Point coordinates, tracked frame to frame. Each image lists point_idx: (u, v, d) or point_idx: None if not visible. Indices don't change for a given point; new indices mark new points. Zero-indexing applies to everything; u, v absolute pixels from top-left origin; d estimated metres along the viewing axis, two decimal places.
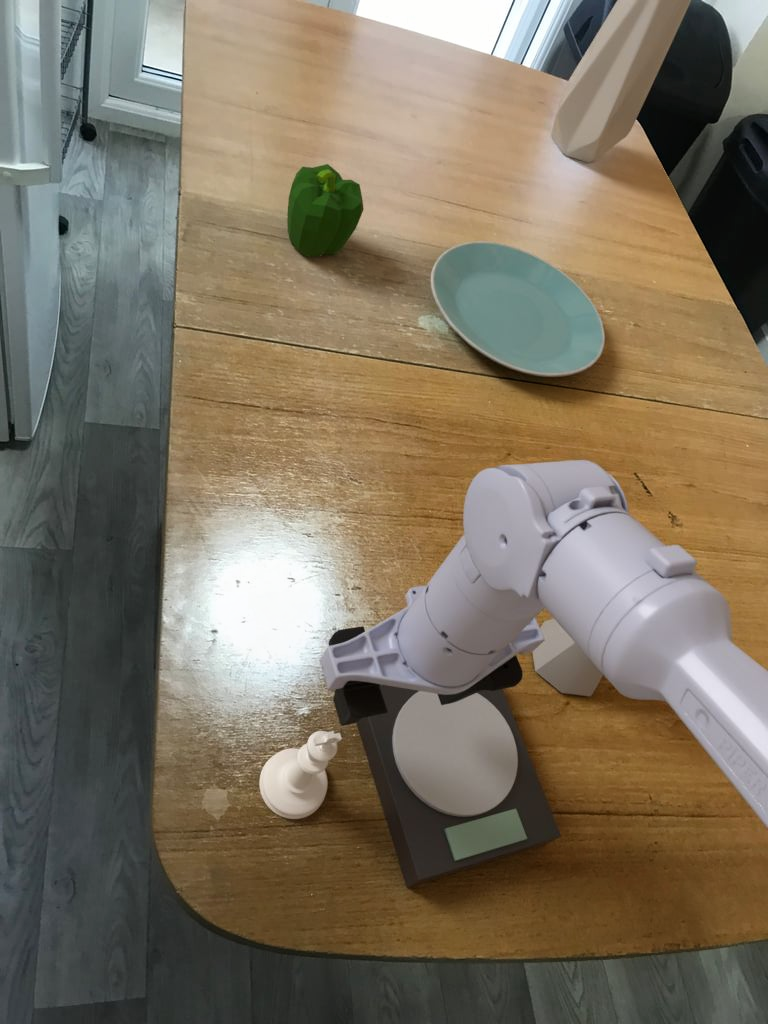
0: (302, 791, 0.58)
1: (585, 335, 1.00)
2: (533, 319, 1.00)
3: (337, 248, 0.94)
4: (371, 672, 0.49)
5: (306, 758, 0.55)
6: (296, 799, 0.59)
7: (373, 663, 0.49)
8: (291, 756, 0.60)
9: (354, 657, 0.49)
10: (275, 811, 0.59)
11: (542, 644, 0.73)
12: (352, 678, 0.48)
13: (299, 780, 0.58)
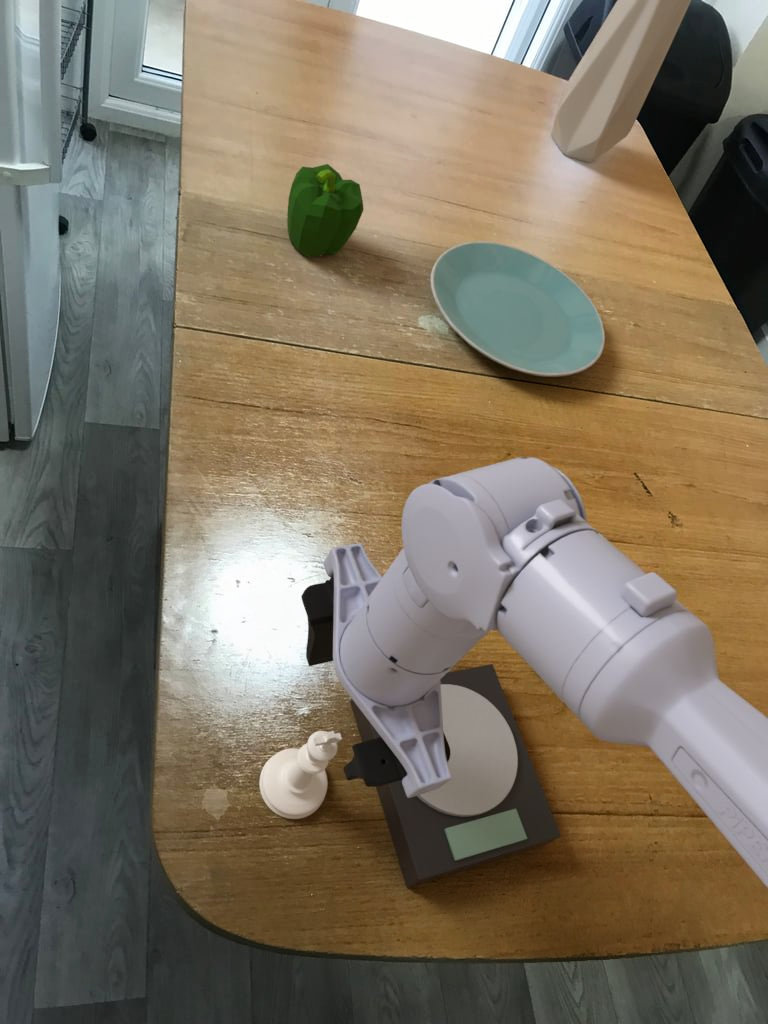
0: (302, 791, 0.58)
1: (585, 335, 1.00)
2: (533, 319, 1.00)
3: (337, 248, 0.94)
4: (343, 585, 0.49)
5: (306, 758, 0.55)
6: (296, 799, 0.59)
7: (353, 585, 0.49)
8: (291, 756, 0.60)
9: (354, 565, 0.49)
10: (275, 811, 0.59)
11: None
12: (334, 565, 0.49)
13: (299, 780, 0.58)
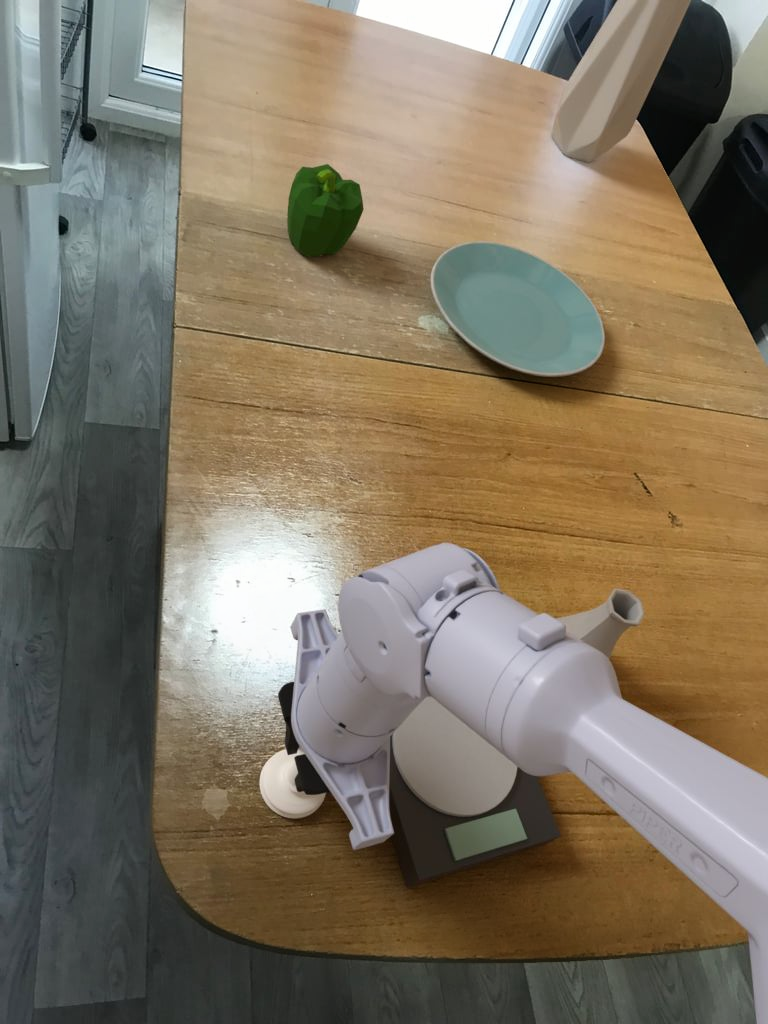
0: None
1: (585, 335, 1.00)
2: (533, 319, 1.00)
3: (337, 248, 0.94)
4: (306, 648, 0.53)
5: None
6: (296, 798, 0.59)
7: (314, 648, 0.53)
8: (291, 756, 0.60)
9: (317, 630, 0.54)
10: (275, 810, 0.59)
11: None
12: (298, 630, 0.53)
13: None
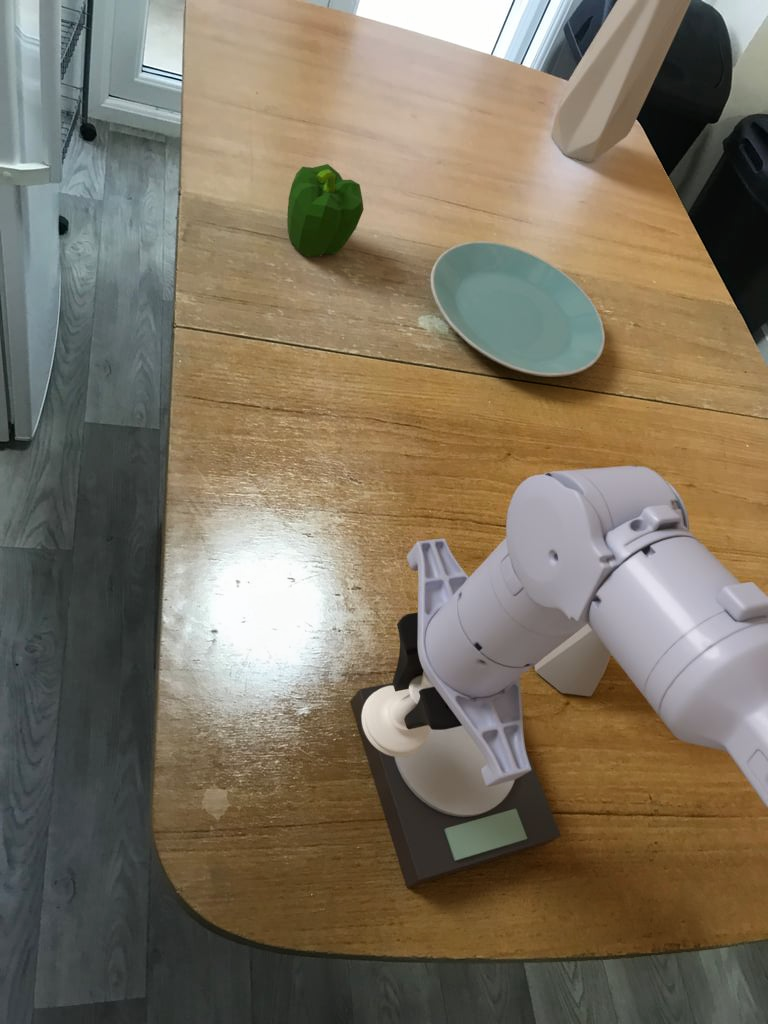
0: None
1: (585, 335, 1.00)
2: (533, 319, 1.00)
3: (337, 248, 0.94)
4: None
5: None
6: (401, 736, 0.56)
7: (437, 578, 0.50)
8: (393, 693, 0.58)
9: (438, 559, 0.51)
10: (379, 749, 0.56)
11: None
12: (419, 559, 0.51)
13: None
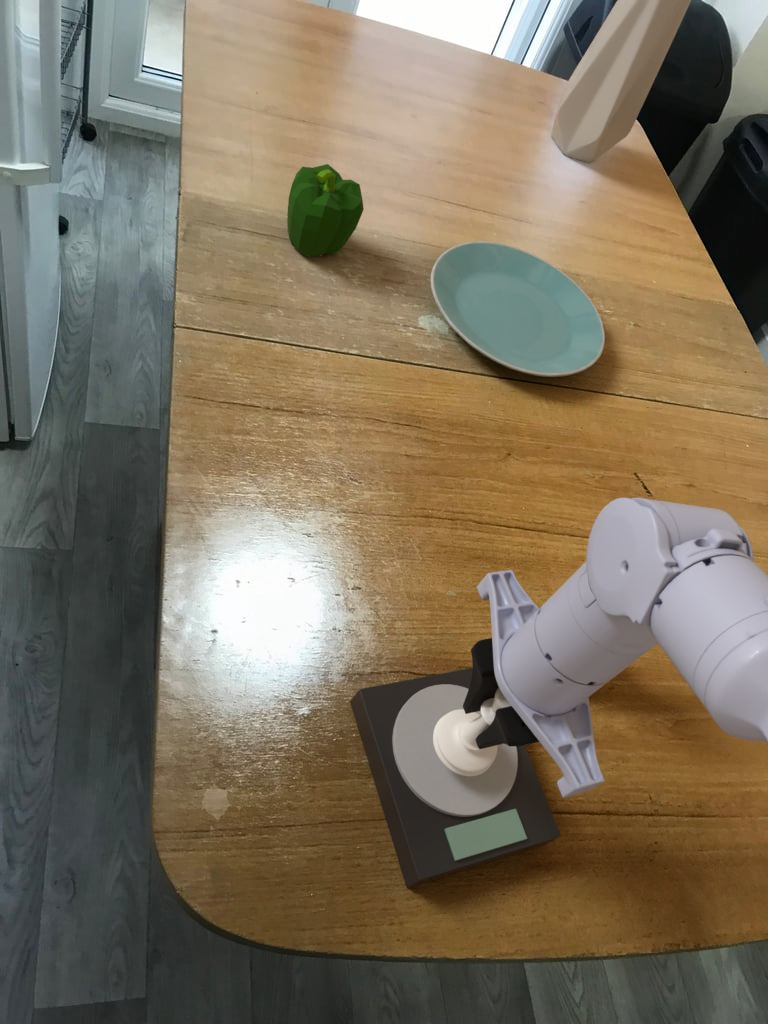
0: (478, 748, 0.60)
1: (585, 335, 1.00)
2: (533, 319, 1.00)
3: (337, 248, 0.94)
4: None
5: (490, 712, 0.57)
6: (472, 756, 0.60)
7: (507, 606, 0.55)
8: (461, 716, 0.62)
9: (508, 589, 0.55)
10: (451, 768, 0.60)
11: None
12: (490, 589, 0.55)
13: None
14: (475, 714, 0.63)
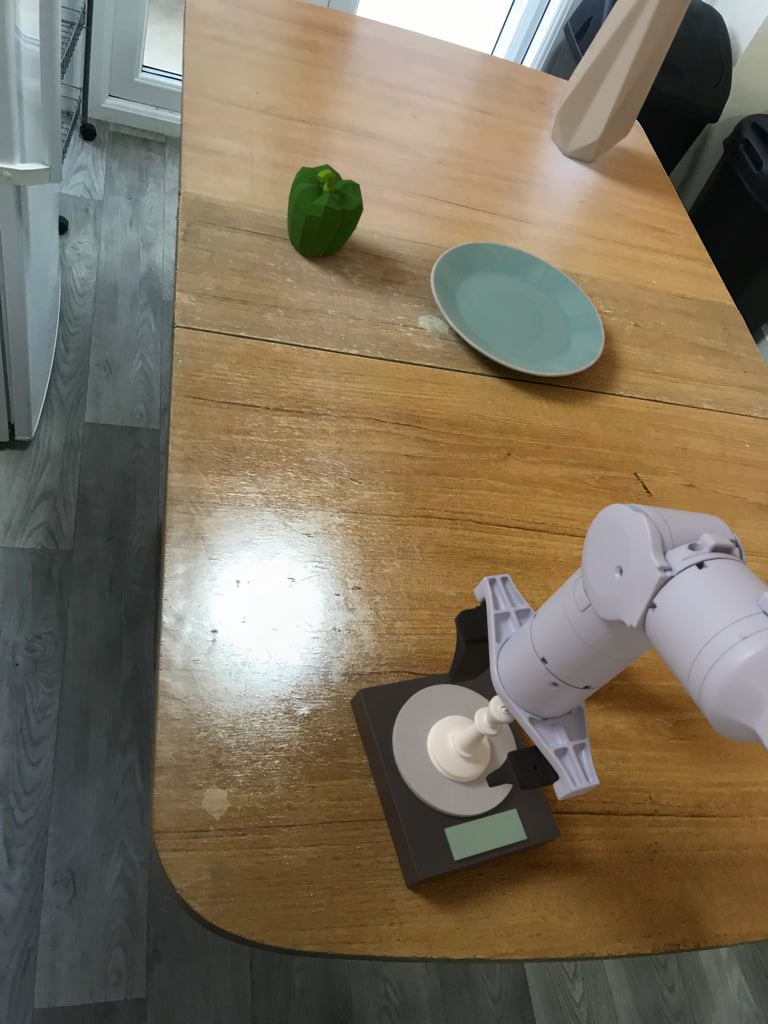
0: (471, 755, 0.61)
1: (585, 335, 1.00)
2: (533, 319, 1.00)
3: (337, 248, 0.94)
4: None
5: (484, 721, 0.58)
6: (465, 763, 0.61)
7: (504, 610, 0.55)
8: (455, 722, 0.63)
9: (504, 593, 0.55)
10: (445, 774, 0.61)
11: None
12: (486, 593, 0.55)
13: (470, 744, 0.60)
14: (469, 720, 0.63)
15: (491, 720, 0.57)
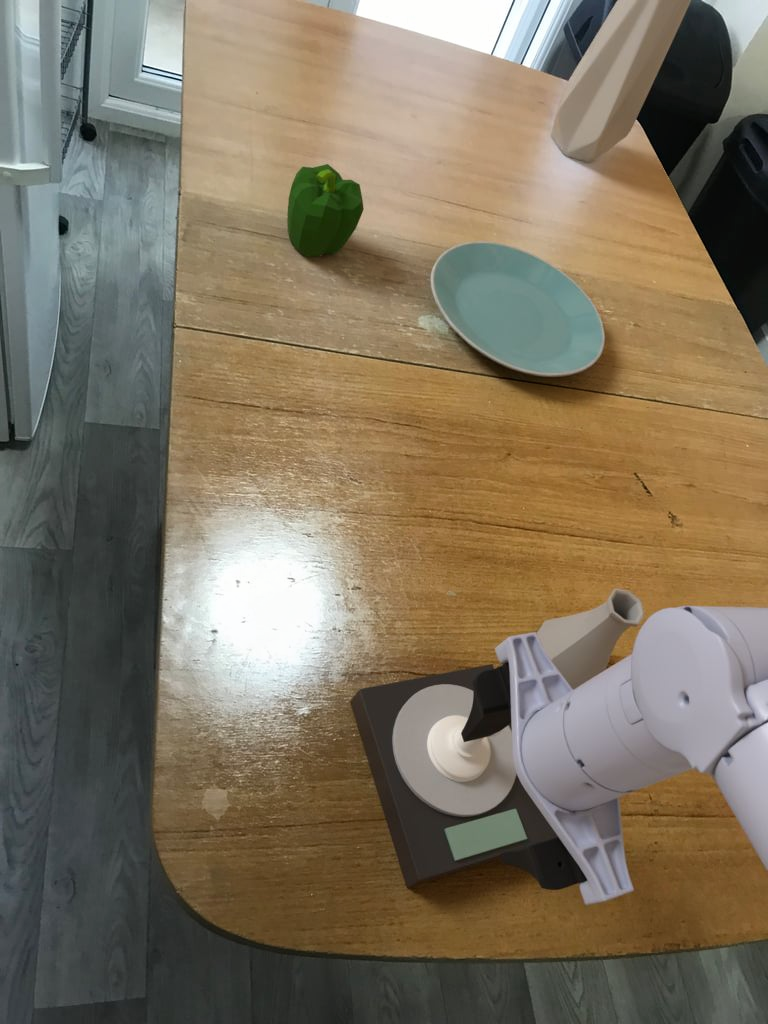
0: (471, 755, 0.61)
1: (585, 335, 1.00)
2: (533, 319, 1.00)
3: (337, 248, 0.94)
4: (520, 677, 0.48)
5: None
6: (465, 762, 0.61)
7: (529, 677, 0.48)
8: (455, 722, 0.63)
9: (531, 656, 0.48)
10: (445, 774, 0.61)
11: (542, 644, 0.73)
12: (510, 655, 0.48)
13: (470, 744, 0.60)
14: None
15: None
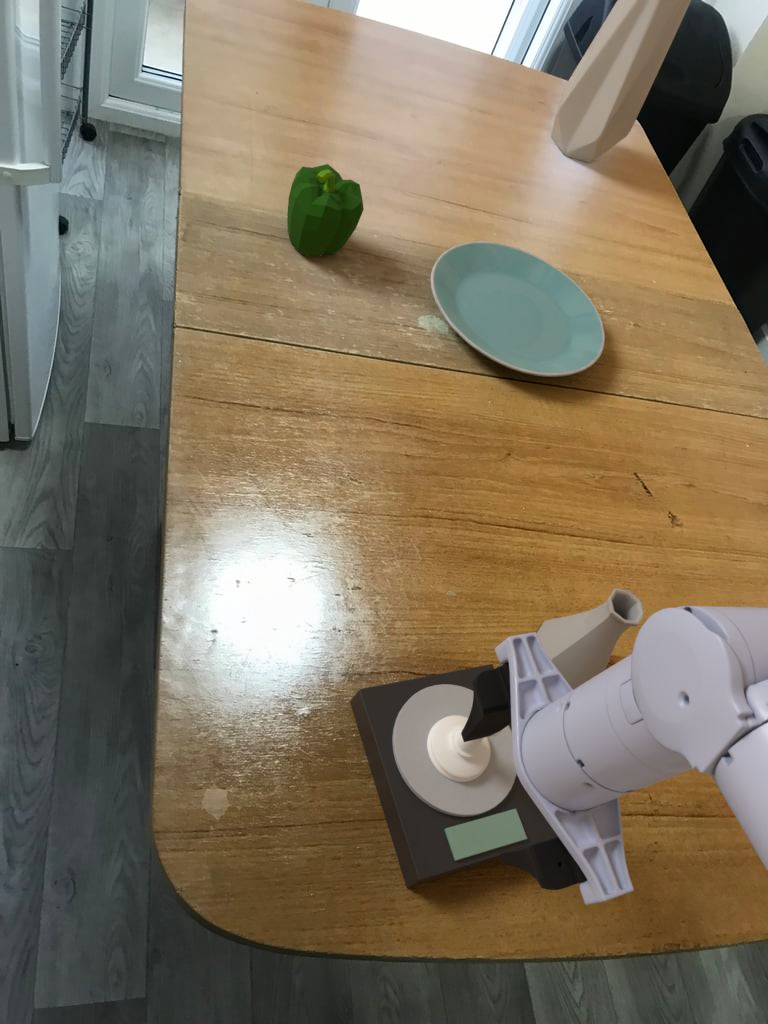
0: (471, 755, 0.61)
1: (585, 335, 1.00)
2: (533, 319, 1.00)
3: (337, 248, 0.94)
4: (520, 677, 0.48)
5: None
6: (465, 763, 0.61)
7: (529, 677, 0.48)
8: (455, 722, 0.63)
9: (531, 656, 0.48)
10: (445, 774, 0.61)
11: (542, 644, 0.73)
12: (510, 655, 0.48)
13: (470, 744, 0.60)
14: None
15: None
